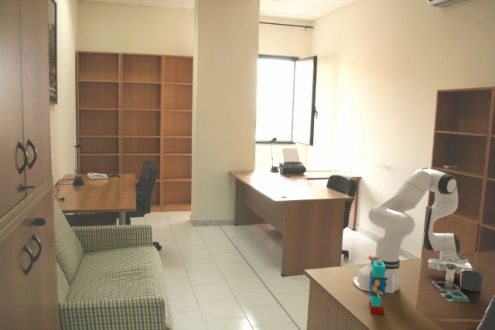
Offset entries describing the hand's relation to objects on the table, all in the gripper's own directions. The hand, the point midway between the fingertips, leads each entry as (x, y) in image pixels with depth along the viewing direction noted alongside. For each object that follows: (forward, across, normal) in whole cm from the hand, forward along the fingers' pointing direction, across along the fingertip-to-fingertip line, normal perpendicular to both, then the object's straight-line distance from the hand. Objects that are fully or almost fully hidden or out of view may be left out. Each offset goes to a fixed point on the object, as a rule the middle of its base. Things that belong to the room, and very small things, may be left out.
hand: (450, 271), depth 206 cm
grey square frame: (+3, -1, +8) cm, 9 cm away
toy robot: (+43, -30, +8) cm, 53 cm away
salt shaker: (+3, 0, +8) cm, 8 cm away
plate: (+14, +2, +8) cm, 16 cm away
